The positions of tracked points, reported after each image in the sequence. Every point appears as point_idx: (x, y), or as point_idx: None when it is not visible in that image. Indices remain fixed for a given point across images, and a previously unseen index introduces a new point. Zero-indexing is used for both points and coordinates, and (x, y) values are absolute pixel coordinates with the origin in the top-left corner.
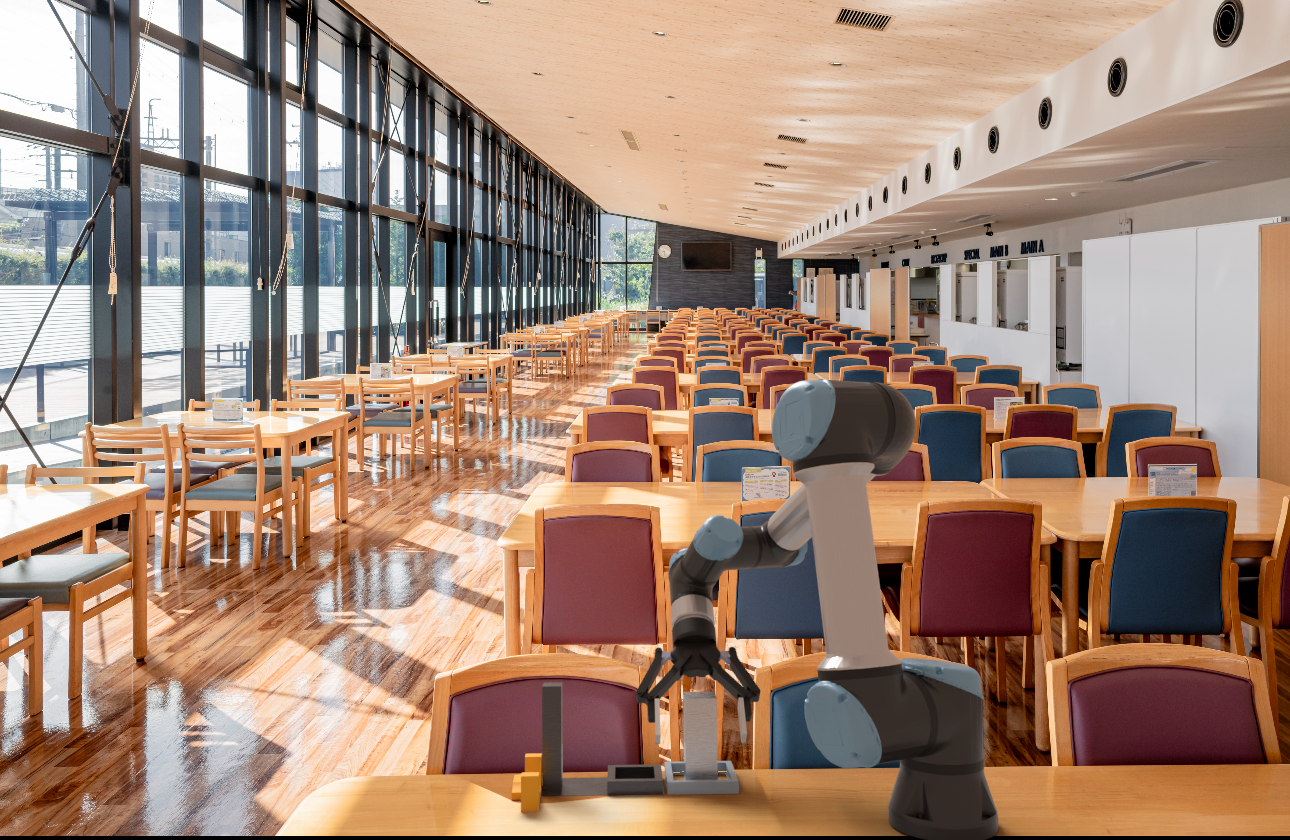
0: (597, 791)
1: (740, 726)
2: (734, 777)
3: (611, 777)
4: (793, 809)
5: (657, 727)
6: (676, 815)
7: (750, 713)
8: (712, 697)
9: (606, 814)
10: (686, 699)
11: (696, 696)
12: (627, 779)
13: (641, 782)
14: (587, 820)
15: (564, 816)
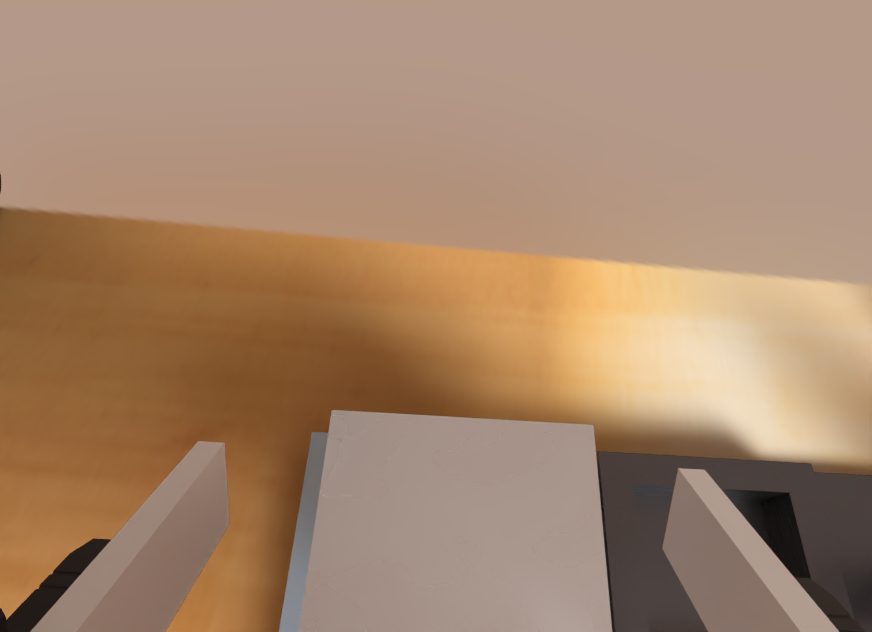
0: (829, 515)
1: (195, 533)
2: (314, 480)
3: (809, 513)
4: (179, 361)
5: (715, 494)
6: (535, 348)
7: (75, 555)
8: (359, 446)
9: (742, 375)
10: (581, 424)
11: (493, 502)
12: (738, 482)
13: (678, 456)
14: (784, 335)
15: (862, 371)
